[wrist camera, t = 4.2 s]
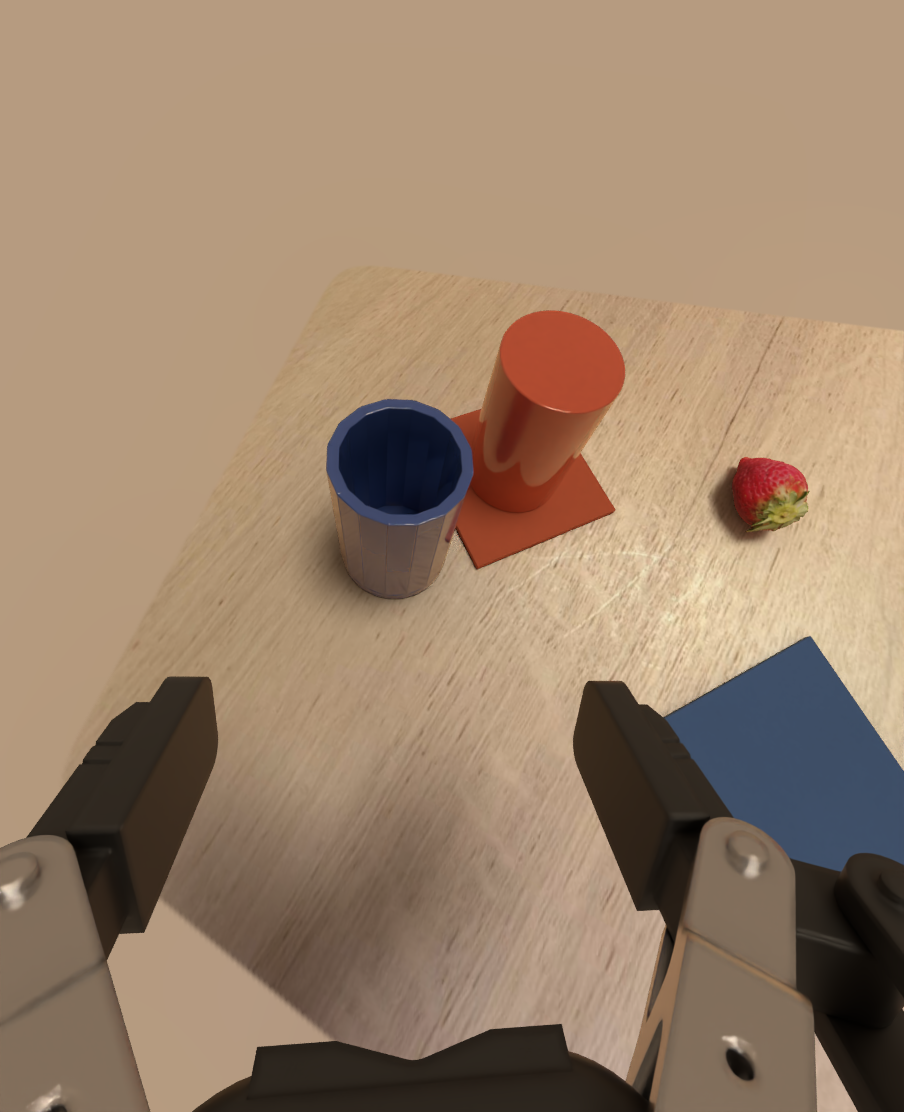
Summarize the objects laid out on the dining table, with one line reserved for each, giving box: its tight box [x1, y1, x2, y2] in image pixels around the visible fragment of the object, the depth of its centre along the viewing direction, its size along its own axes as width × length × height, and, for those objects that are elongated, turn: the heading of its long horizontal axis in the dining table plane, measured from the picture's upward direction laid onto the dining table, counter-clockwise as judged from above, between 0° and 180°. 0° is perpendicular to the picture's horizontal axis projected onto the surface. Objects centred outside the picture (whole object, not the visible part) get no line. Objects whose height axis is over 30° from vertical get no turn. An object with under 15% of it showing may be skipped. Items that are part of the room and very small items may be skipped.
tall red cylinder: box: [470, 310, 625, 513], centre depth 29 cm, size 6×6×10 cm
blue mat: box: [664, 636, 904, 872], centre depth 28 cm, size 14×14×1 cm
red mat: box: [451, 409, 615, 569], centre depth 33 cm, size 10×10×1 cm
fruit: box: [732, 457, 810, 532], centre depth 33 cm, size 4×6×5 cm
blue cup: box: [326, 399, 474, 599], centre depth 26 cm, size 6×6×10 cm
